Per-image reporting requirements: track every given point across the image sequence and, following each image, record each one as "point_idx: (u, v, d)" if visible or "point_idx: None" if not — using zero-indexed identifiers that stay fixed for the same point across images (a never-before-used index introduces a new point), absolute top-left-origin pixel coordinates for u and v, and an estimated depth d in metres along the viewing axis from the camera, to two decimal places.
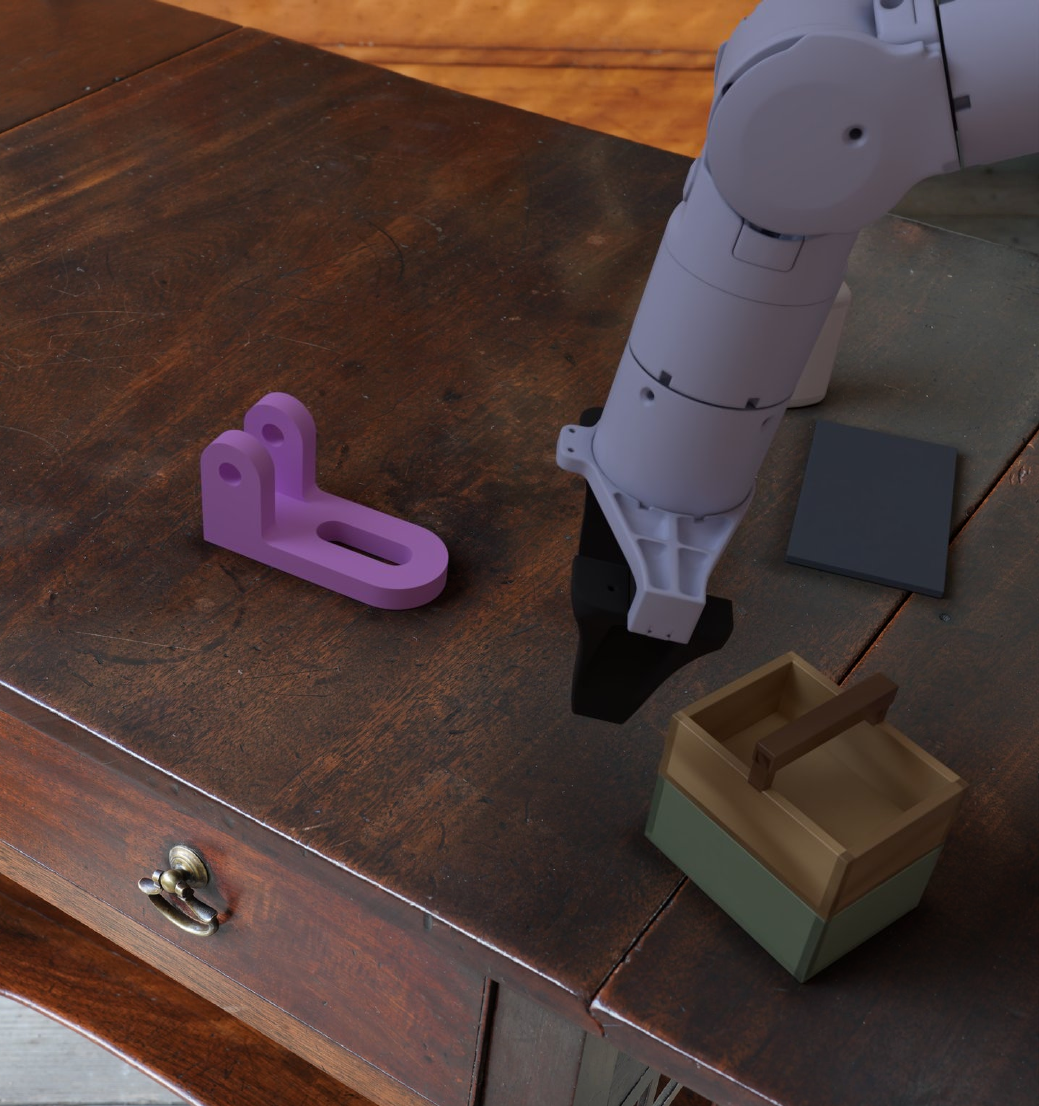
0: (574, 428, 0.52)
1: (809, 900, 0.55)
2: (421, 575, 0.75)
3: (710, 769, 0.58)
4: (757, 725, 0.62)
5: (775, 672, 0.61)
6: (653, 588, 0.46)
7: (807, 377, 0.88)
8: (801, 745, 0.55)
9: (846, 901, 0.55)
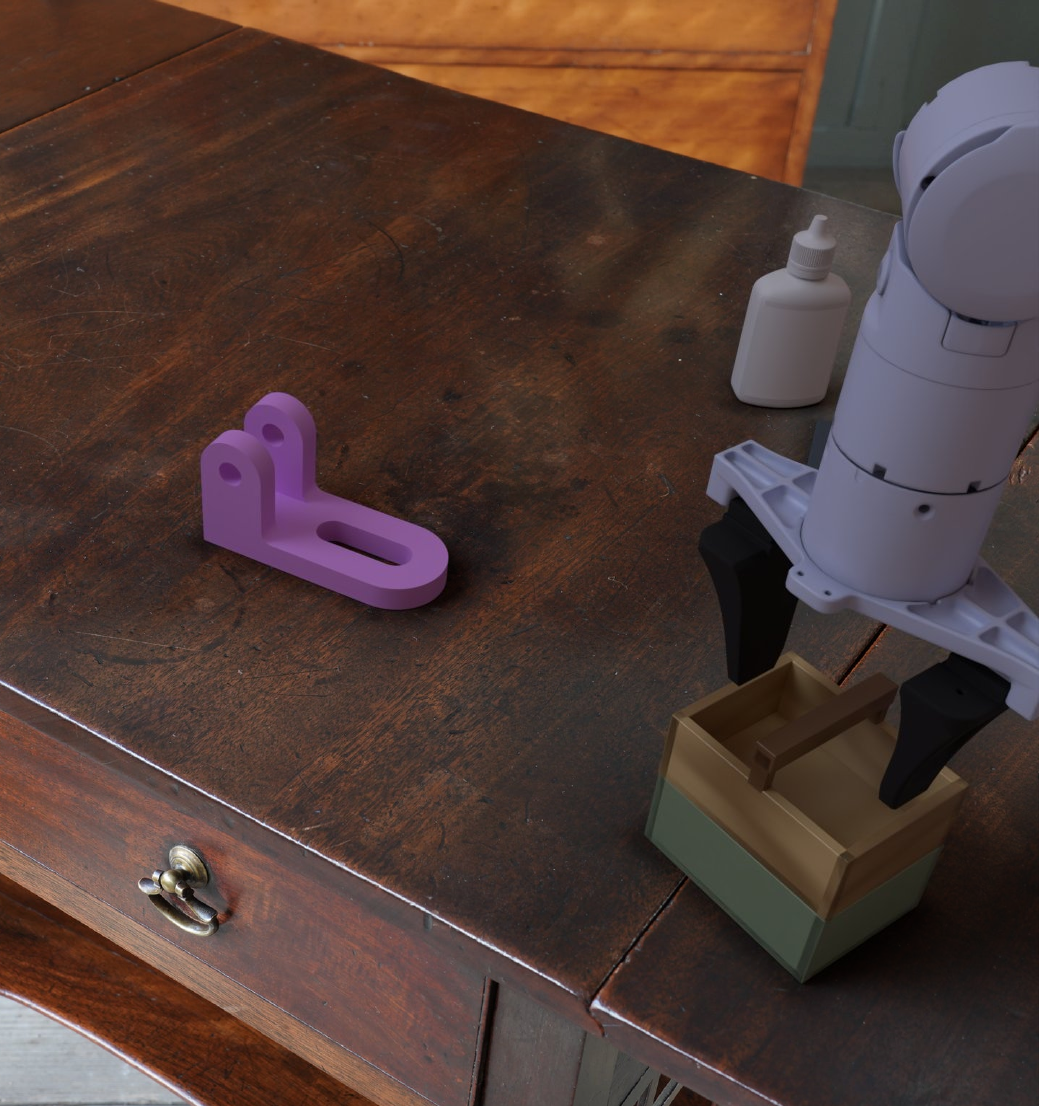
0: (798, 570, 0.50)
1: (809, 900, 0.55)
2: (421, 576, 0.75)
3: (710, 769, 0.58)
4: (757, 725, 0.62)
5: (775, 672, 0.61)
6: None
7: (807, 377, 0.88)
8: (801, 745, 0.55)
9: (846, 901, 0.55)
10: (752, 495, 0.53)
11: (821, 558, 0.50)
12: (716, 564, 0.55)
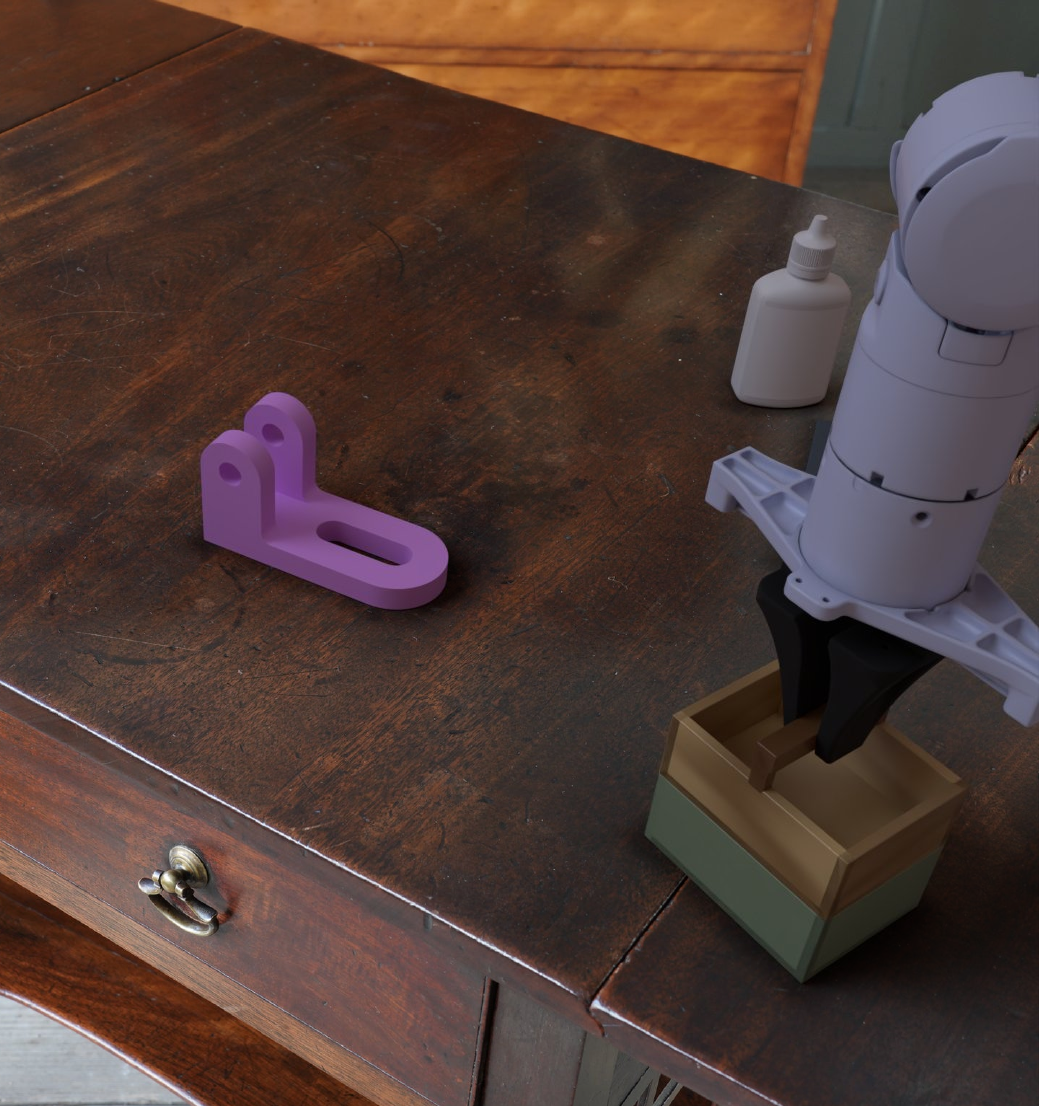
0: (796, 577, 0.50)
1: (809, 900, 0.55)
2: (421, 575, 0.75)
3: (710, 770, 0.58)
4: (758, 725, 0.62)
5: (776, 672, 0.61)
6: None
7: (807, 377, 0.88)
8: (801, 746, 0.55)
9: (846, 902, 0.55)
10: (751, 502, 0.53)
11: (819, 565, 0.50)
12: (775, 615, 0.53)
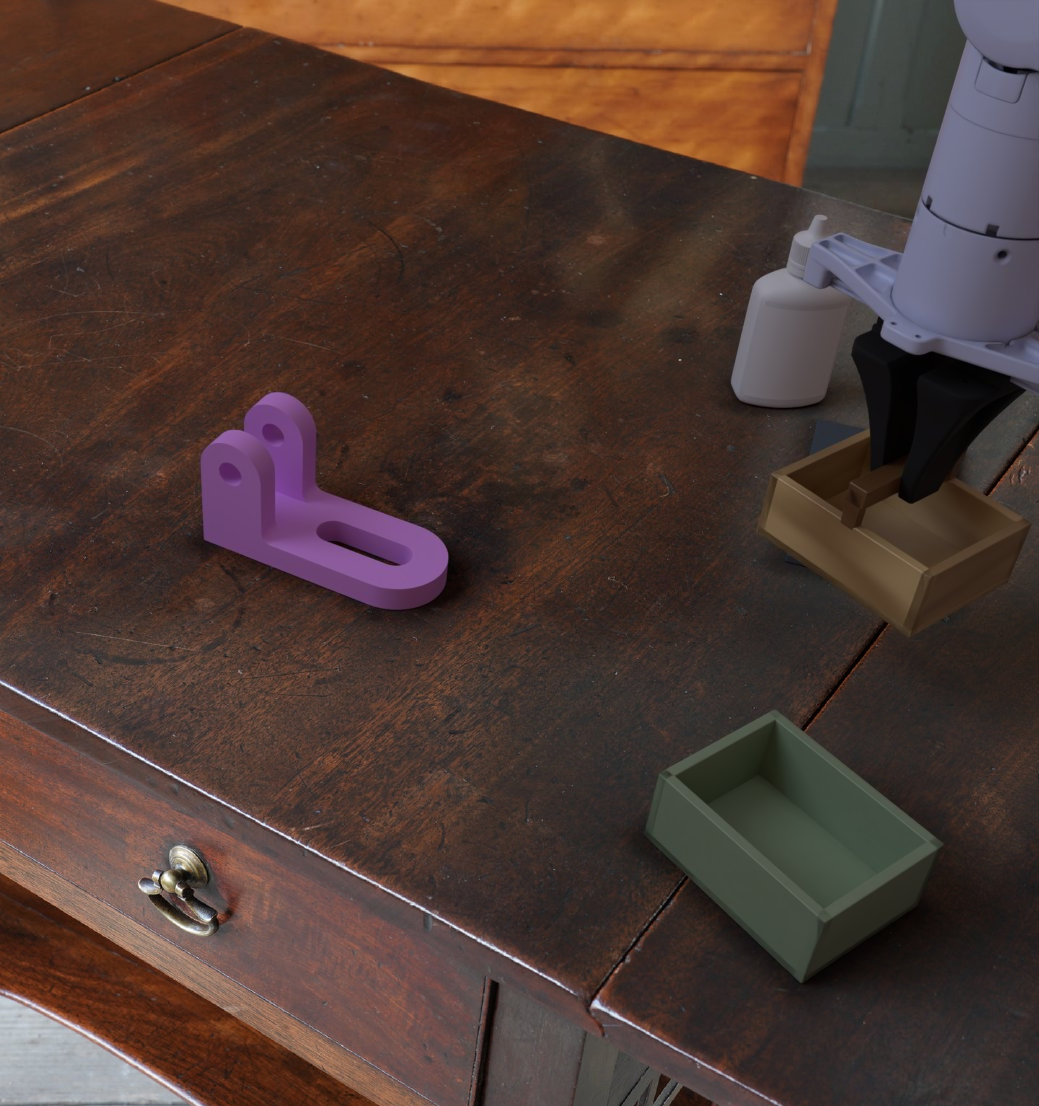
0: (891, 321, 0.59)
1: (894, 620, 0.64)
2: (421, 576, 0.75)
3: (805, 518, 0.67)
4: (840, 495, 0.71)
5: (858, 444, 0.70)
6: None
7: (807, 377, 0.88)
8: (888, 485, 0.64)
9: (926, 620, 0.64)
10: (847, 271, 0.63)
11: (911, 310, 0.59)
12: (869, 366, 0.62)
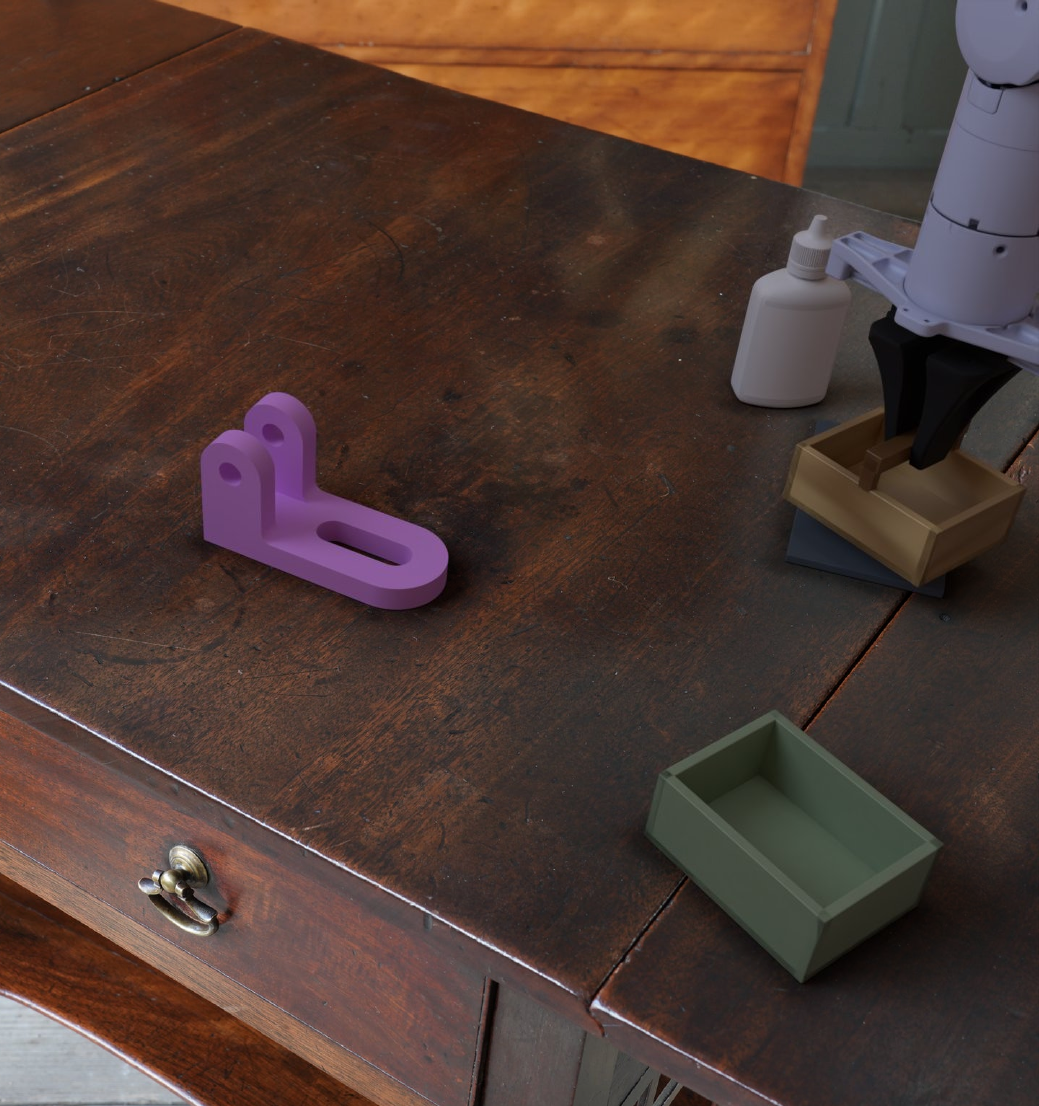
0: (904, 308, 0.68)
1: (905, 572, 0.73)
2: (421, 575, 0.75)
3: (826, 483, 0.76)
4: (857, 465, 0.80)
5: (873, 419, 0.79)
6: None
7: (807, 377, 0.88)
8: (900, 453, 0.73)
9: (933, 572, 0.73)
10: (865, 265, 0.71)
11: (921, 298, 0.68)
12: (884, 348, 0.71)
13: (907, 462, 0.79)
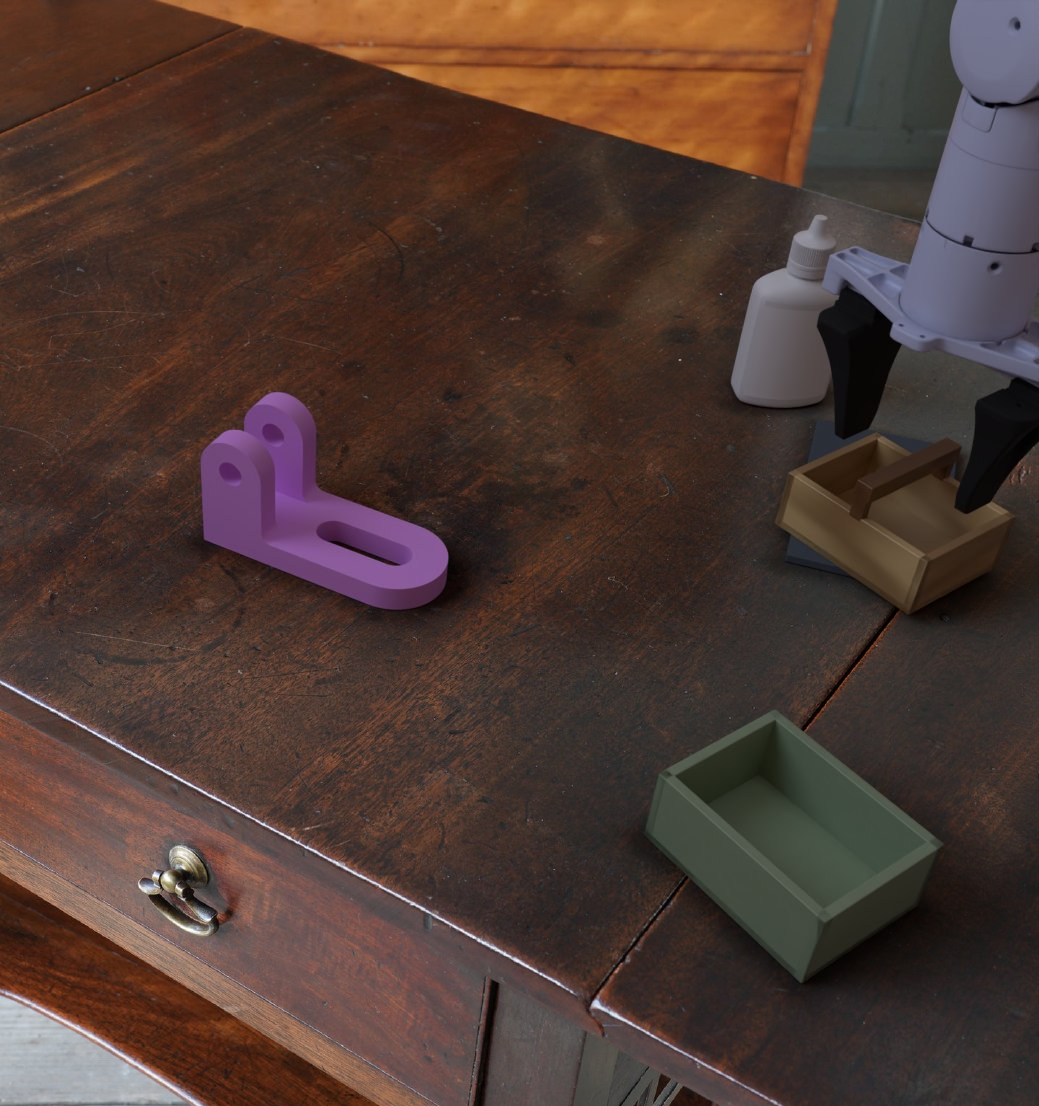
0: (899, 323, 0.68)
1: (896, 600, 0.74)
2: (421, 576, 0.75)
3: (818, 511, 0.77)
4: (849, 491, 0.81)
5: (865, 446, 0.80)
6: None
7: (807, 377, 0.88)
8: (890, 483, 0.74)
9: (923, 600, 0.74)
10: (861, 280, 0.72)
11: (916, 314, 0.68)
12: (831, 336, 0.73)
13: (898, 489, 0.80)
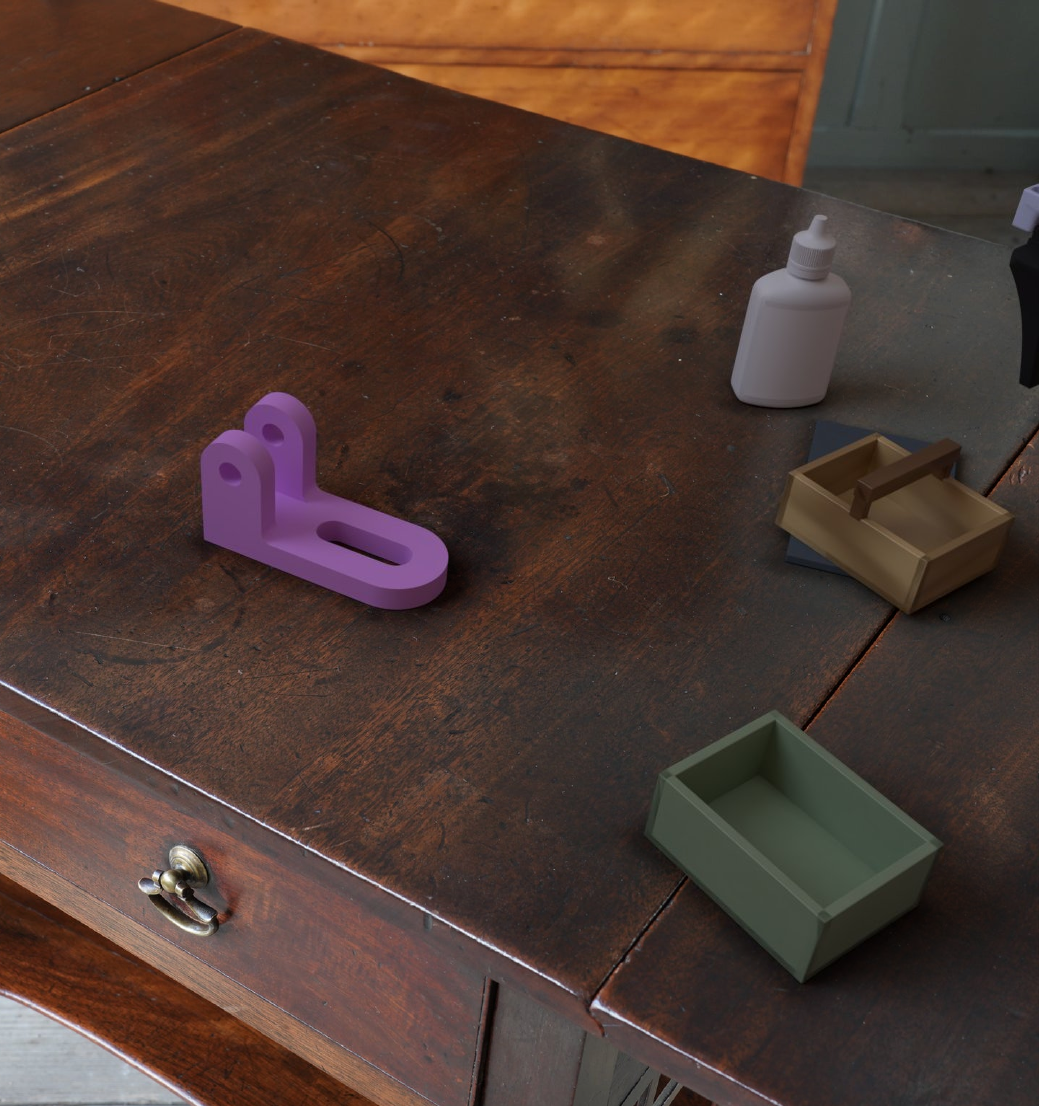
0: None
1: (896, 600, 0.74)
2: (421, 575, 0.75)
3: (818, 511, 0.77)
4: (849, 491, 0.81)
5: (865, 446, 0.80)
6: None
7: (807, 377, 0.88)
8: (890, 483, 0.74)
9: (923, 600, 0.74)
10: None
11: None
12: (1026, 275, 0.68)
13: (898, 489, 0.80)
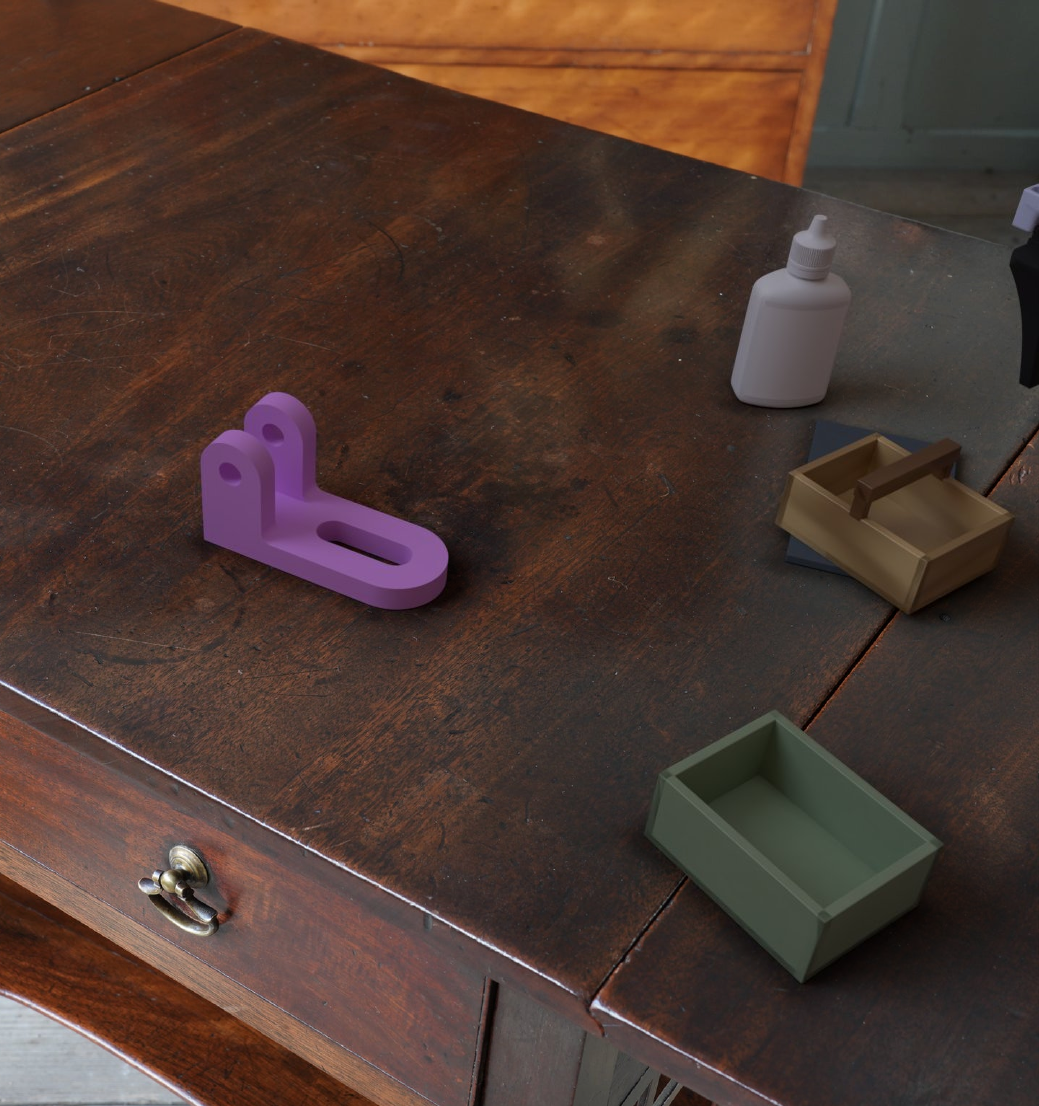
0: None
1: (896, 600, 0.74)
2: (420, 575, 0.75)
3: (818, 511, 0.77)
4: (849, 491, 0.81)
5: (865, 446, 0.80)
6: None
7: (807, 377, 0.88)
8: (890, 483, 0.74)
9: (923, 600, 0.74)
10: None
11: None
12: (1026, 275, 0.68)
13: (898, 489, 0.80)
